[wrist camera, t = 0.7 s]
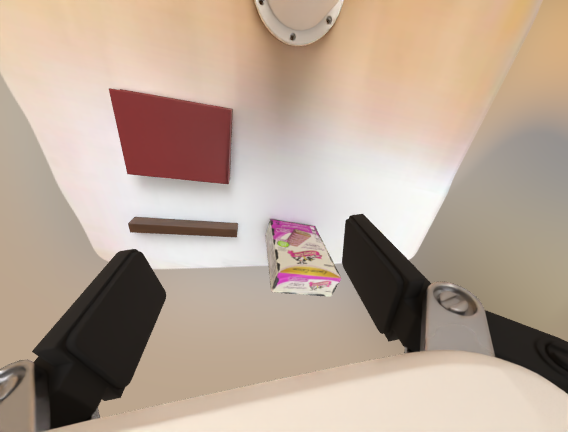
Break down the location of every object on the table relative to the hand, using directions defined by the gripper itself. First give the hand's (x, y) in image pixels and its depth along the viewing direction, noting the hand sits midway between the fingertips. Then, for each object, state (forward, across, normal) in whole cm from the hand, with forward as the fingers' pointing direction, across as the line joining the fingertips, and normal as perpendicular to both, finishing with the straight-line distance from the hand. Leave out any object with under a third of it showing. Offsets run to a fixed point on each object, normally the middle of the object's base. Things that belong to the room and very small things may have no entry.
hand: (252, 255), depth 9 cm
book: (+31, +11, -1) cm, 33 cm away
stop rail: (+31, +16, +15) cm, 37 cm away
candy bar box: (+31, -6, +21) cm, 37 cm away
